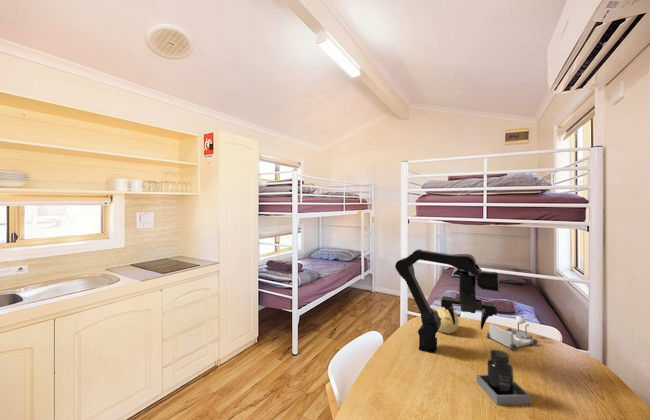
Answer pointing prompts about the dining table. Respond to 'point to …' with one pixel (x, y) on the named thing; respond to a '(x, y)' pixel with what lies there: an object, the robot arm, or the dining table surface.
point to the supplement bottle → (500, 373)
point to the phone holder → (511, 335)
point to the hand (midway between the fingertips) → (467, 326)
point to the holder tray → (516, 398)
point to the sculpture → (447, 321)
